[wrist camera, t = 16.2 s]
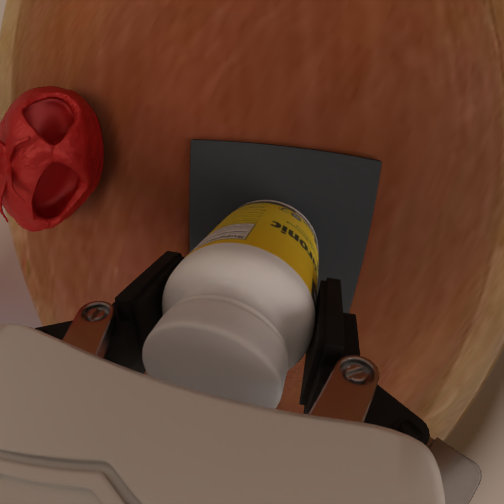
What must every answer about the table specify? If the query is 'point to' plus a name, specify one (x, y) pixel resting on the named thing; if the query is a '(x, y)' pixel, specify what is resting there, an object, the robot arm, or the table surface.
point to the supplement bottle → (239, 307)
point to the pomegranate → (48, 156)
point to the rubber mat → (289, 196)
